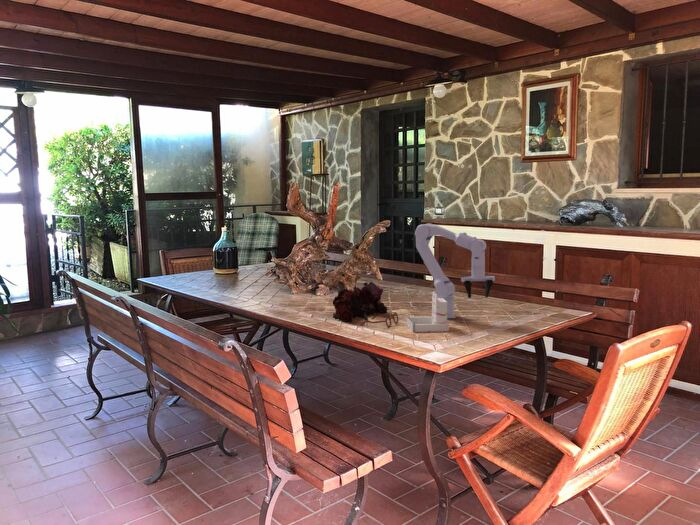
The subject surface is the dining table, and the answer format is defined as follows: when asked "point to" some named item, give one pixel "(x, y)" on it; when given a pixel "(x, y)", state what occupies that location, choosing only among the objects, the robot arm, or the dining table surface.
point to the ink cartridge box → (439, 310)
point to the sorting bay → (425, 324)
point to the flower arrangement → (358, 302)
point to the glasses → (385, 320)
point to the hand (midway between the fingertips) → (477, 297)
